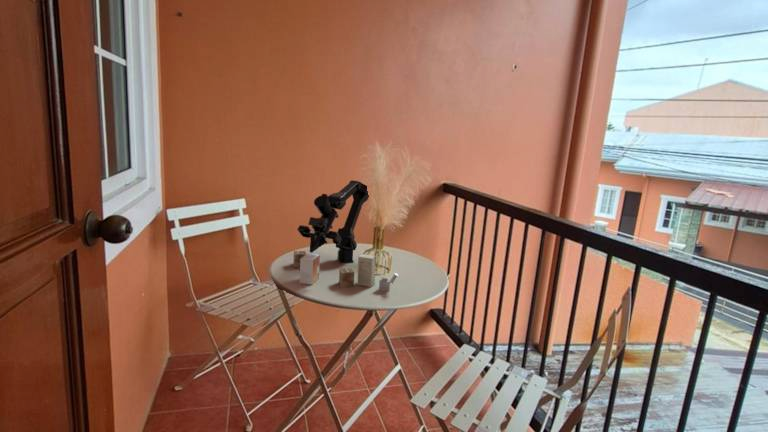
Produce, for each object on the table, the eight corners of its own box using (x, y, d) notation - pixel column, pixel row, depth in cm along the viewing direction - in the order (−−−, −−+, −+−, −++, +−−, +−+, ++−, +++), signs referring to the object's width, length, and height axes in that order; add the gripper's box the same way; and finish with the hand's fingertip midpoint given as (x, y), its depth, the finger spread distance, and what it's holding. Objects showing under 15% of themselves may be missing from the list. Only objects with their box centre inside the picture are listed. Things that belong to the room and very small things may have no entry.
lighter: (378, 290, 158) (380, 271, 156) (379, 288, 159) (381, 270, 157) (396, 293, 156) (397, 274, 154) (397, 291, 158) (398, 272, 156)
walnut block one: (350, 281, 164) (351, 267, 163) (353, 286, 160) (354, 272, 158) (338, 282, 163) (339, 268, 161) (341, 287, 158) (342, 272, 157)
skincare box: (374, 283, 164) (376, 255, 161) (371, 287, 160) (372, 258, 157) (360, 280, 166) (362, 253, 163) (356, 284, 162) (358, 256, 159)
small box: (312, 285, 158) (313, 260, 155) (299, 283, 159) (299, 258, 156) (319, 278, 166) (320, 254, 163) (307, 276, 167) (307, 252, 164)
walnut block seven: (304, 263, 181) (305, 250, 180) (306, 267, 177) (306, 254, 175) (293, 263, 180) (293, 250, 178) (294, 267, 175) (295, 254, 174)
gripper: (300, 206, 164) (283, 237, 157) (339, 213, 157) (323, 246, 149) (310, 220, 173) (294, 251, 165) (348, 228, 166) (333, 260, 158)
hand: (310, 252), depth 159 cm, fingers closed
